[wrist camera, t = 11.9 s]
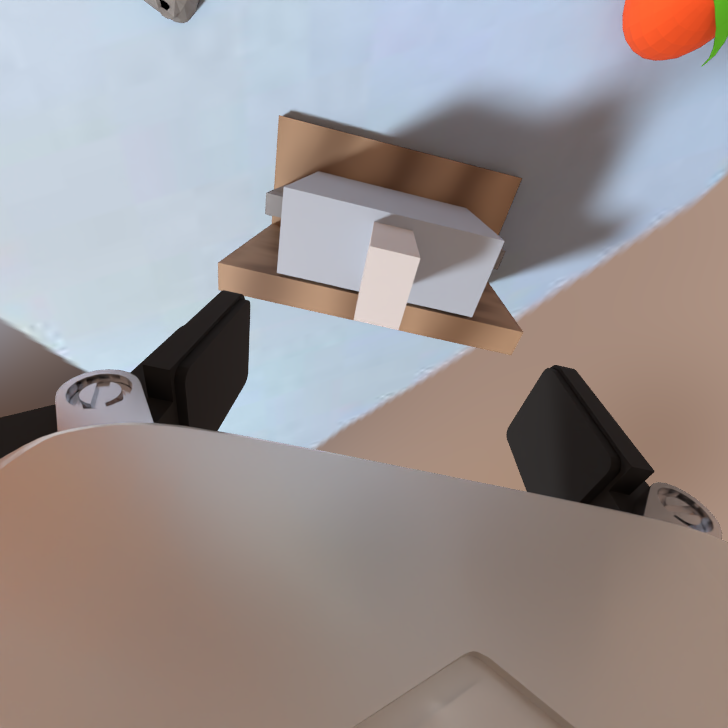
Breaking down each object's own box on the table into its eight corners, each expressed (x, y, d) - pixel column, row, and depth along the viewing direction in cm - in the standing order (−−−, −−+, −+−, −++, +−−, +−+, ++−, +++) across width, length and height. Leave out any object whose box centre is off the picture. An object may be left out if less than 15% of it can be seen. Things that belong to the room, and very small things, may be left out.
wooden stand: (518, 177, 32) (594, 198, 20) (473, 288, 38) (511, 355, 26) (281, 116, 30) (215, 100, 19) (273, 241, 36) (218, 289, 25)
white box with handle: (466, 208, 32) (539, 271, 17) (446, 264, 35) (493, 362, 20) (318, 171, 31) (250, 201, 16) (310, 232, 34) (246, 308, 19)
